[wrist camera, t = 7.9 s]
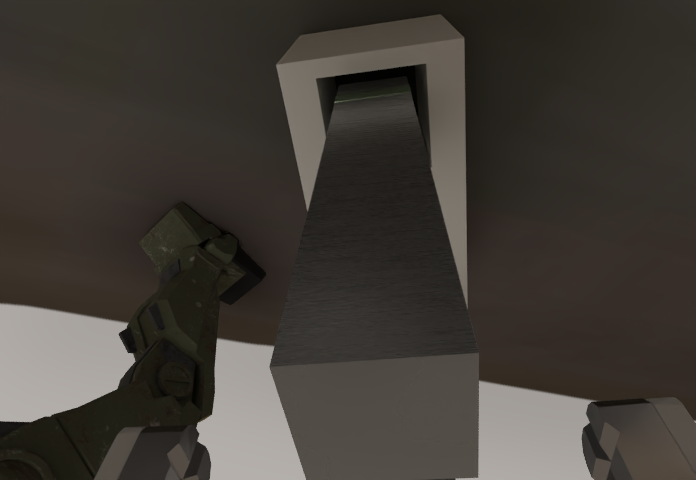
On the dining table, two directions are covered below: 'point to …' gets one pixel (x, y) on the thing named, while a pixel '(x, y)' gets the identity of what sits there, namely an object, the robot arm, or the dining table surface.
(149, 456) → the robot arm
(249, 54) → the dining table surface
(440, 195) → the frame
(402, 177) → the column
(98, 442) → the mechanical leg
